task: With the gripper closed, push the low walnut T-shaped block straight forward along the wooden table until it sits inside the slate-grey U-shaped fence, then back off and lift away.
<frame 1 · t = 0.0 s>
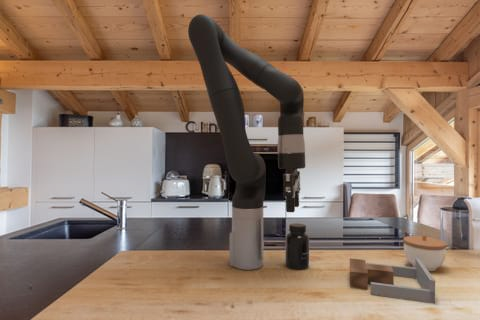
hand: (292, 209, 87), 17 cm above the worktop, tool pointing down, fingers open, 8 cm apart
grey fence: (396, 285, 77), on the worktop
t block: (358, 280, 80), on the worktop
lidded jar: (423, 267, 90), on the worktop
supplement bottle: (297, 266, 90), on the worktop
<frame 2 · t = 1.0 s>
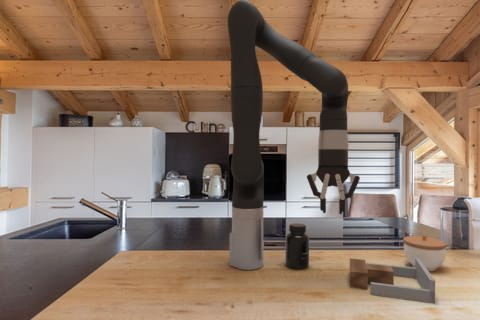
hand: (332, 212, 82), 17 cm above the worktop, tool pointing down, fingers open, 3 cm apart
nothing on the worktop moved.
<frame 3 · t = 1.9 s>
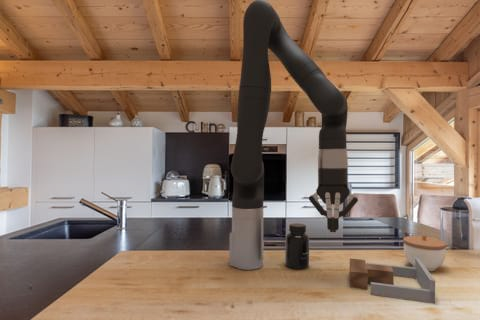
hand: (333, 231, 82), 12 cm above the worktop, tool pointing down, fingers closed
nothing on the worktop moved.
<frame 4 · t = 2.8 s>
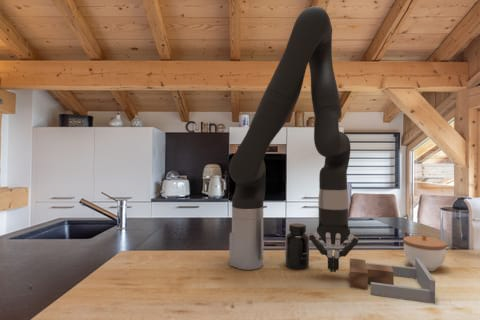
hand: (333, 270, 82), 2 cm above the worktop, tool pointing down, fingers closed
nothing on the worktop moved.
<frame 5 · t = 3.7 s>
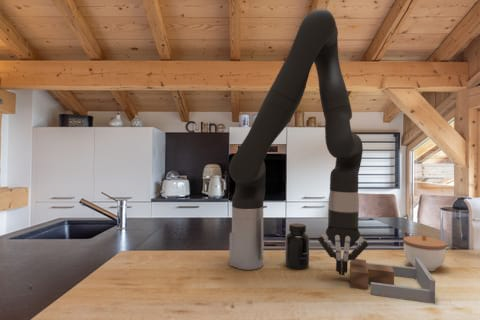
hand: (341, 273, 81), 1 cm above the worktop, tool pointing down, fingers closed
t block: (358, 280, 80), on the worktop, touching gripper
everything else where it was.
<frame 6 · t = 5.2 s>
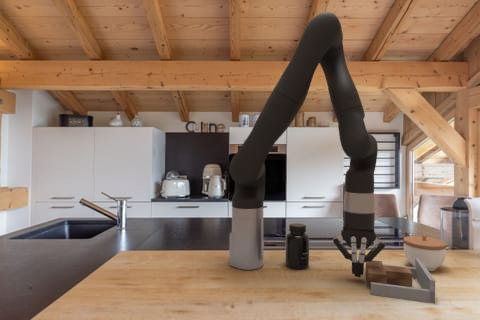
hand: (357, 275, 80), 1 cm above the worktop, tool pointing down, fingers closed
t block: (375, 282, 79), on the worktop
everything else where it was.
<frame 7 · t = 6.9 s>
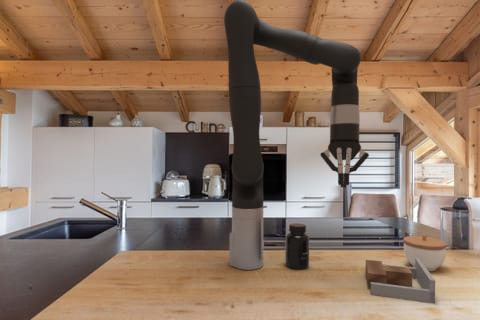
hand: (343, 187, 84), 24 cm above the worktop, tool pointing down, fingers closed
nothing on the worktop moved.
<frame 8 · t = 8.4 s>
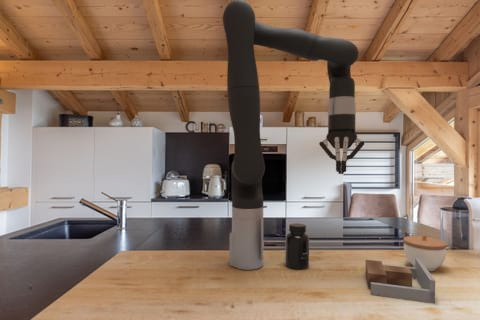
hand: (341, 173, 90), 27 cm above the worktop, tool pointing down, fingers closed
nothing on the worktop moved.
at the end: t block 0.3 cm from the target spot, on the worktop; t block moved 4.1 cm from its start; t block tilted 0° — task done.
